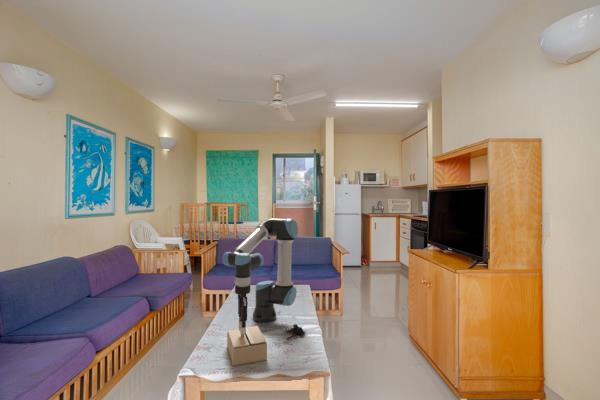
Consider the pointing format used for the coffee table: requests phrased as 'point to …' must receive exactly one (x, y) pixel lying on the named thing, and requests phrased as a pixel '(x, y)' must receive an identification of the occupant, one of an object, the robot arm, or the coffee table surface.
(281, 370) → the coffee table surface
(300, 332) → the stuffed animal
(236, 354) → the carton
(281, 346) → the coffee table surface
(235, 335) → the flap outer
